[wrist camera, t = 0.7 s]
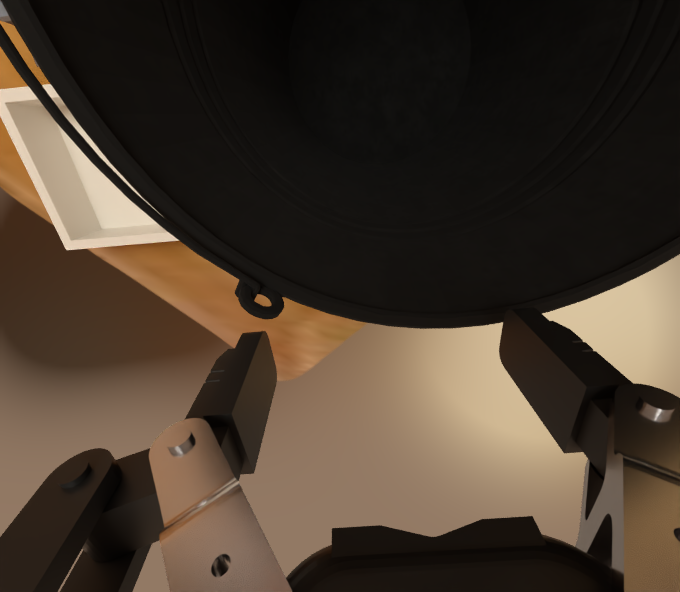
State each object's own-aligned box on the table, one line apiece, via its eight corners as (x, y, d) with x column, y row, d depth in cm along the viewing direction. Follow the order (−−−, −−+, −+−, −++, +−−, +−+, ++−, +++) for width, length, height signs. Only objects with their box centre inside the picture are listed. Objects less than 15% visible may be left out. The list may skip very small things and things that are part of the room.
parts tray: (42, 98, 34) (-13, 90, 28) (179, 83, 33) (150, 73, 28) (101, 235, 40) (66, 250, 35) (217, 225, 40) (198, 238, 35)
